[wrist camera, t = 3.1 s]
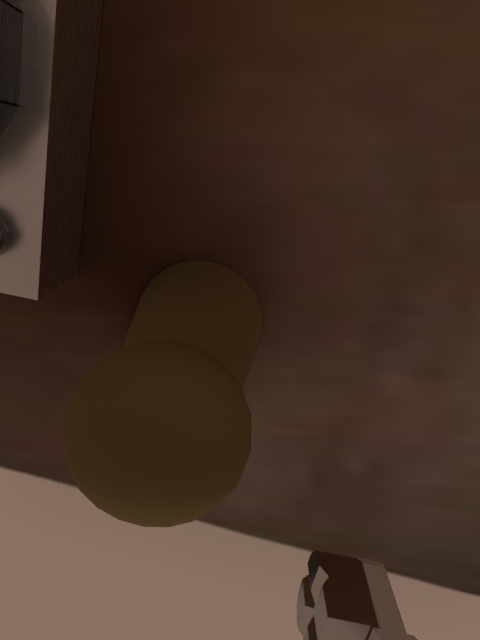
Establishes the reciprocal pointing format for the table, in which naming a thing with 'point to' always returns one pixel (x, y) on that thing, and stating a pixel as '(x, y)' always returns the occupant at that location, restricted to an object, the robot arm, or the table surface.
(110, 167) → the table surface
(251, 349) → the cork
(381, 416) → the table surface
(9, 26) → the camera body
